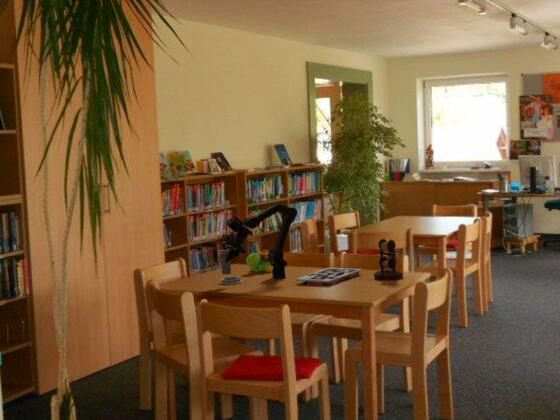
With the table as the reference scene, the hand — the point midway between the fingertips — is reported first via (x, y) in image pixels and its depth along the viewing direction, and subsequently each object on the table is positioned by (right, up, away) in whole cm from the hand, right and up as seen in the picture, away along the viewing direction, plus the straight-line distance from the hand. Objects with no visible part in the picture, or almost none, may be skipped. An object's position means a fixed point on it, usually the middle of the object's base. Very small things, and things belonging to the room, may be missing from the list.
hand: (223, 261), depth 407 cm
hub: (+3, -12, +13) cm, 18 cm away
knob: (+2, -6, +1) cm, 7 cm away
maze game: (+55, -10, +5) cm, 56 cm away
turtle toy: (+20, -9, +45) cm, 50 cm away
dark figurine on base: (+85, -9, -2) cm, 86 cm away
